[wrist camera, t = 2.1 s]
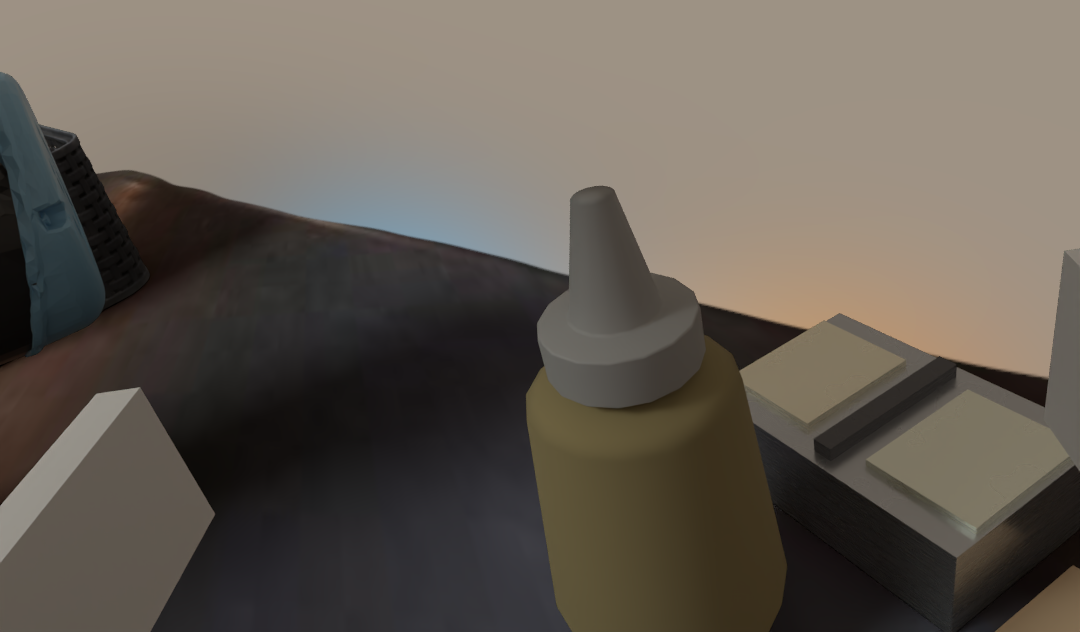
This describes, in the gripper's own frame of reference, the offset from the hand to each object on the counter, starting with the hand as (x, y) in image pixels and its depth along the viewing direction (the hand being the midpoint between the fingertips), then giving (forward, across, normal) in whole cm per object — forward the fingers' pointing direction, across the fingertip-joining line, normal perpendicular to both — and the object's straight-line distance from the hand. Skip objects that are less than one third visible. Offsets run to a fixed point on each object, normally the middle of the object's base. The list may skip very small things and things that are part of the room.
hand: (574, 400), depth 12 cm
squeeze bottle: (+10, 0, -19) cm, 22 cm away
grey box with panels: (+17, +9, -19) cm, 27 cm away
